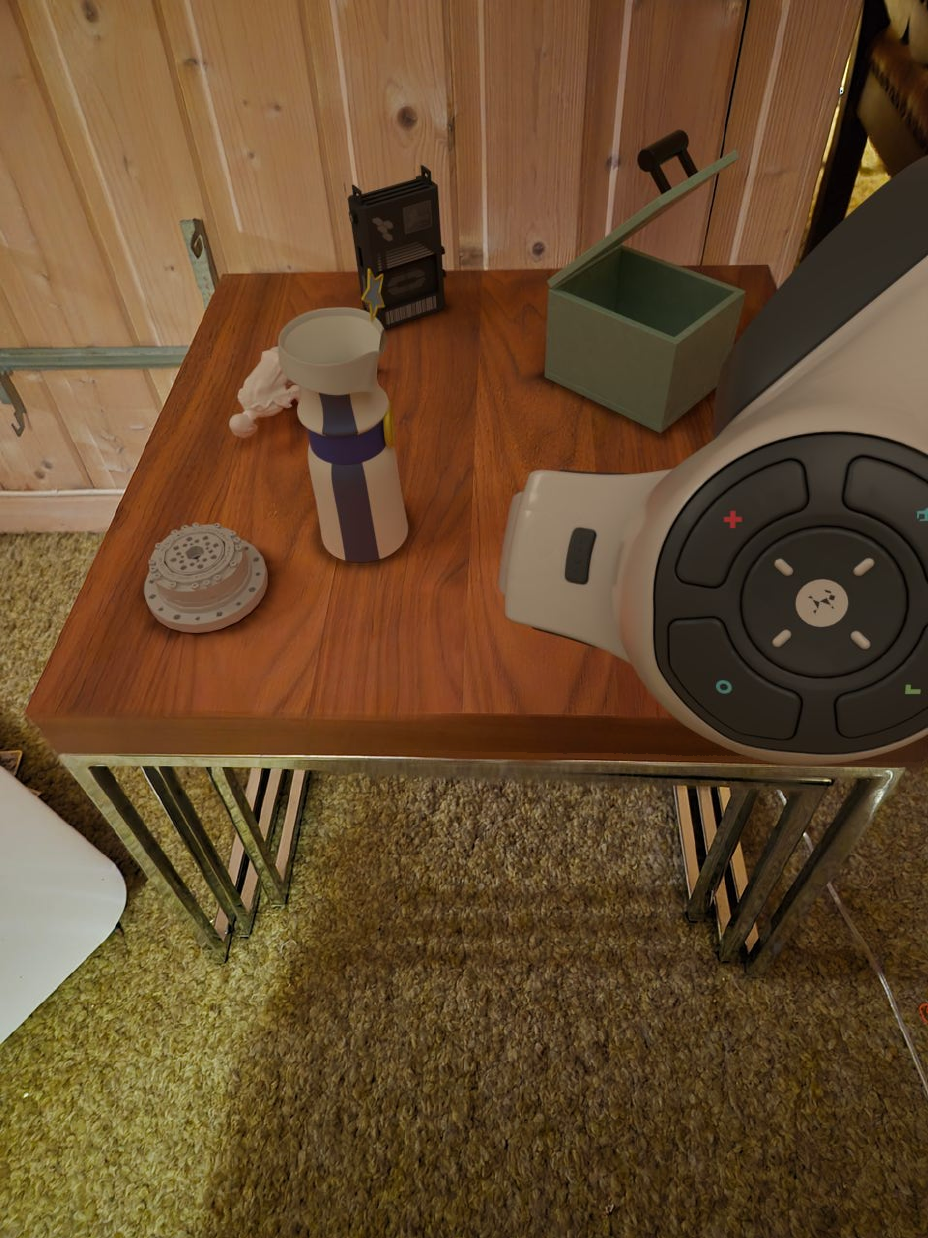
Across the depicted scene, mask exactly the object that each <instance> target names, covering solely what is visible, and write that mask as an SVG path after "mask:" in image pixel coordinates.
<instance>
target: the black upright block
mask: <svg viewBox="0 0 928 1238" xmlns="http://www.w3.org/2000/svg"><path fill="white" fill-rule="evenodd" d="M351 190H352V191H351V192H352V194H350V195H348V197H347V204H348V218H349V221H350V225H351V233H352V241H353V247H354V254H355V261H356V267H357V268H356V269H357V275H358V282H359V288H360V296H361V298H362V296H363V294H364V293H365V291H366V289H367V278H368V269H370V270H371V271H372V273H373V275H374V277H375V278H377V277H378V276H379V275H380V274H383V281H382V287H381V296H382V299H383V302H384V305H385V307H384V308H378V309H377V312H376V316H375V317H376V318H377V319H378V320H379V321H380V323H381V324H382V326H383V328H384V330H385V331H386V330H388V329H391V328H394V327H397V326H400V325H402V324H405V323H408V322H411V321H414V320H417V319H419V318H422V317H425V316H428V315H431V314H435V313H437V312H440V311H442V310H444V309H445V307H446V299H445V283H444V278H447V272H446V269H444V267H443V265H444V264H443V256H444V255H445V254H446V249H445V247H444V246H443V245H442V233H441V218H440V217H441V215H440V202H439V201H440V198H439V197H440V196H439V185H438V184H437V183H436V182H434V181H433V180H432V171H431V169H429V168H428V167H427V166H425V165H423V164H420V174H419V175H416V176H415V178H413V179H410V180H406V181H402V182H400V183H396V184H392V185H389V186H386V187H382V188H379V189H378V188H377V189H375V190H371V191H368V192H365V193H363V192H362V190H361V189H360V188H358V186H357V185H355V184H351ZM361 302H362V310H364V311H366V312H368V313H370V307H369V303H366V302H364V301H362V300H361Z"/></svg>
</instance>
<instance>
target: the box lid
mask: <svg viewBox="0 0 928 1238" xmlns="http://www.w3.org/2000/svg"><path fill="white" fill-rule="evenodd" d="M689 144H690V139H689V136H688V133H687V132H685V130H684V129H683V130H682V129H675V130H674V131H672V132H671V133H669V134H667V135H665V136H663V137H662V138H660V139H658V140H656V141H655V142H653V143H651V144H649V145H647V146H646V147H644V148H641V150H640V151H639V152H638V154H637V158H636V162H637V165H638V167H639V169H640V170H641V171H642V172H644V173H649V174H650V175H651V178H652V179H653V181H654V183H655V185H656V187H657V189H658V192H659V193H660V196H657V197H656V198H655V199H654V200H652V201H650V203H648V204H647V205H645V206H644V207H643V208H641V209H640V210H639V211H637V212H636V213H635V214H633V215H632V216H631V217H629V218H628V219H627V220H626V221H624V222H623V223H622V224H620V225H619V226H618V227H616V228H614V229H613V231H611V232H610V233H608V234H607V235H605V236H604V237H603V238H601V239H600V240H599V241H598V242H597V243H595V244H594V245H592V246H591V247H590V248H589V249H587V250H586V251H584V252H583V253H581V254H580V255H579V256H577V257H576V258H575V259H574V260H573V261H571V262H570V263H569V264H567V265H566V266H564V267H563V268H562V269H561V270H559V271H558V272H556V273H555V274H554V275H552V276H551V277H550V278H548V279H547V280H546V283H547V284H548V287H549V289H550V288H552V287H554V286H556V285H557V284H559V283H560V282H562V281H563V280H565V279H567V278H568V277H570V276H571V275H573V274H574V273H576V272H578V271H579V270H581V269H582V268H584V267H585V266H587V265H589V264H590V263H592V262H593V261H595V260H596V259H598V258H600V257H601V256H603V255H604V254H606V253H607V252H609V251H610V250H612V249H614V248H615V247H617V246H618V245H620V244H623V243H624V242H626V241H628V239H631V237H633V236H634V235H635V234H637V233H638V232H640V231H641V230H643V229H644V228H645V227H647V226H648V225H650V224H651V223H653V222H654V221H655V220H656V219H657V218H659V217H660V216H662V215H663V214H665V213H666V212H667V211H669V210H671V208H674V206H676V205H677V204H678V203H680V202H681V201H682V200H684V199H685V198H686V197H688V196H689V195H691V194H692V193H694V192H695V191H697V190H698V189H699V188H700V187H702V186H703V185H704V184H706V183H707V182H709V181H710V180H712V179H714V178H715V176H718V175H719V174H720V173H722V172H723V171H724V170H725V169H727V168H728V167H730V166H731V165H733V164H734V163H735V162H737V161H738V160H739V159H740V155H739V152H738V151H737V150H736V149H734V150H732V151H730V152H729V153H727V154H726V155H724V156H722V157H721V158H719V159H717V160H716V161H714V162H713V163H711V164H709V165H708V166H706V167H705V168H703V169H701V170H700V171H699V170H698V168H697V167H696V164H695V163H694V160H693V159H692V157H691V155H690V152H689V151H688V147H689ZM676 157H677V159H678V161H679V163H680V166H681V167H682V169H683V171H684V173H685V175H686V176H687V179H685V180H683V181H682V182H680V183H678V184H677V185H675V186H673V187H672V186H671V184H670V182H669V180H668V179H667V177H666V174H665V172H664V171H663V169H662V167H661V166H662V165H664V164H666V163H667V162H670V161H671V160H672V159H674V158H676Z"/></svg>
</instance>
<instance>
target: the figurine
mask: <svg viewBox="0 0 928 1238" xmlns="http://www.w3.org/2000/svg"><path fill="white" fill-rule="evenodd" d="M287 386H290V387H289V388H287ZM237 393H238V394H237V401H238V403H239V404H240V405H241V407H242V409H243V412H241V413H235V414H233V415H232V416H231V417H230V418H229V421H228V422H229V423H228V426H229V429H230V430H231V433H232V434H233V436H235V437H238V438H242V439H247V438H251V437H252V436H253V435H254V434H255V433H257V430H258V427H259V426H258V425H257V424H256V423H255V420H256V419H258V418H268V417H274V416H275V415H277V414H279V413H281V412H282V411H283V410H284V408H285V409H290V408H292V407H293V405H292V404H291V403H292V402H293V400H295V401H296V402H297V403H298V404H299V401H300V399H301V398H302V390H301V386H299V385H298V384H296V383H294V382H293V381H291V380H290V379H288V378H287V377H286V376H285V375H284V373H283V372H282V370H281V368H280V364H279V357H278V345H277V346H273V347H272V348H270V349H267V350H264V351H262V352H261V357H260V362H258V364H257V365H256V367H255V368H254V369H253V370H252V372H251V373H250V374H249V375H248V376H247V377H246V378H245V380H244V382H243V385H242V387H241V388H240V389H238V392H237Z"/></svg>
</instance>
